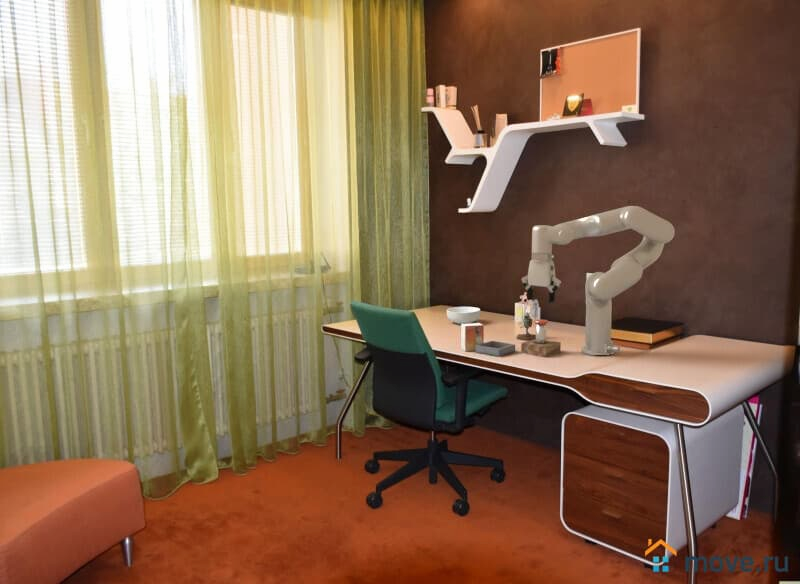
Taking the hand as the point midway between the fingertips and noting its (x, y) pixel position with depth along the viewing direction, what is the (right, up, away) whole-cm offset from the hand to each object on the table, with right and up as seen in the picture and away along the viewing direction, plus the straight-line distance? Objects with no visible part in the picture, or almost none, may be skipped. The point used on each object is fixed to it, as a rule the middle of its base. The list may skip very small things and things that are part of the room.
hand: (540, 300), depth 255 cm
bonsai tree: (+1, -17, +30) cm, 35 cm away
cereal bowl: (-24, -12, +68) cm, 73 cm away
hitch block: (+1, -20, +3) cm, 21 cm away
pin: (+1, -21, +3) cm, 21 cm away
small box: (-26, -20, +10) cm, 34 cm away
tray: (-17, -21, +5) cm, 27 cm away
